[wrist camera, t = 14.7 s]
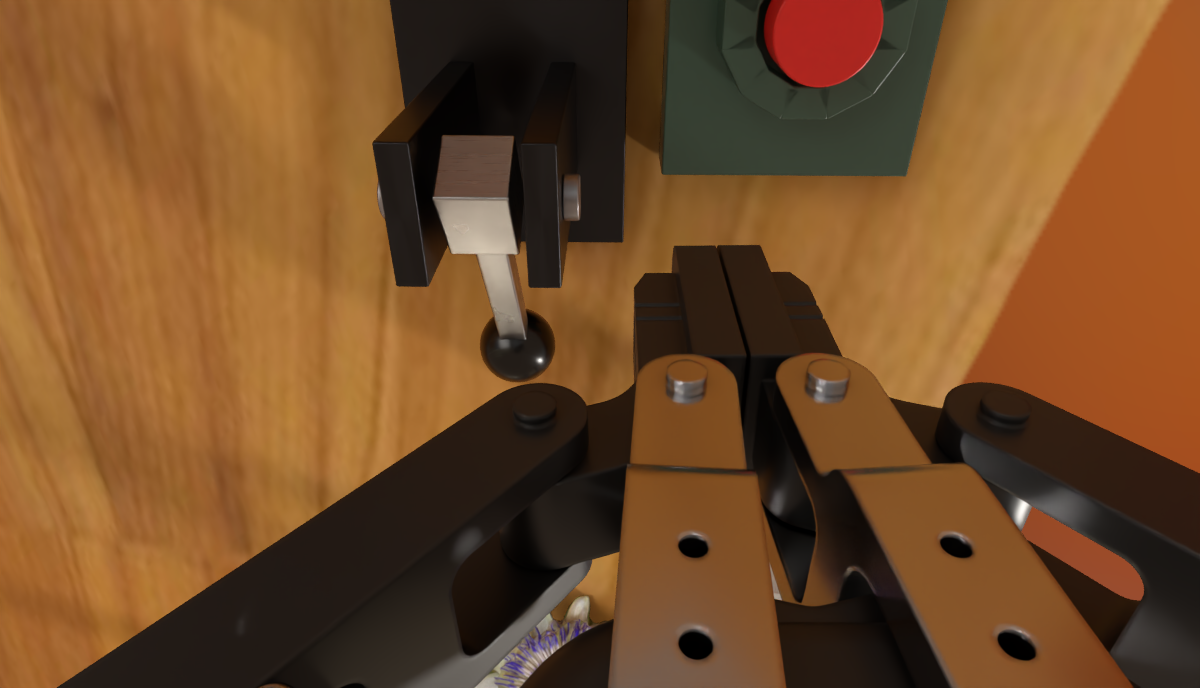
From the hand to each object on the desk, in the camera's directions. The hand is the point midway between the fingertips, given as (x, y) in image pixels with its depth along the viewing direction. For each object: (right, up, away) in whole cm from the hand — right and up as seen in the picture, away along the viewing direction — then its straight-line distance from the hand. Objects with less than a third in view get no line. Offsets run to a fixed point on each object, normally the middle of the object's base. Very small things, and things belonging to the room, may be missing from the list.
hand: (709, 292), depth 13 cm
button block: (+6, +12, +15) cm, 20 cm away
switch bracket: (-5, +9, +17) cm, 20 cm away
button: (+6, +10, +12) cm, 17 cm away
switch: (-6, +3, +14) cm, 16 cm away
